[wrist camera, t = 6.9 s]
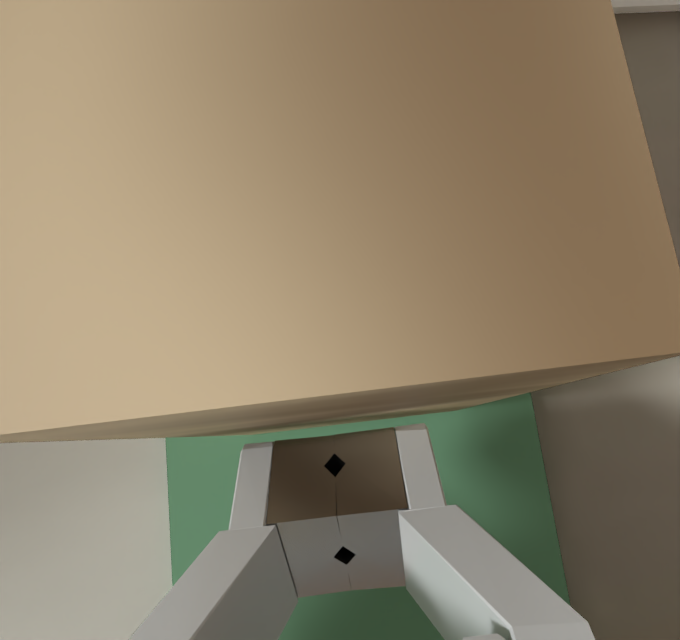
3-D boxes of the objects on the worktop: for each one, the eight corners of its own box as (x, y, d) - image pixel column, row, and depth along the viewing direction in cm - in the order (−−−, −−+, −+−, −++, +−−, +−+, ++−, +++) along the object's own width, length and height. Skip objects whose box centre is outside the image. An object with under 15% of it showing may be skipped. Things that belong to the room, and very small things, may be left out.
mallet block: (251, 434, 13) (-91, 446, 3) (223, 76, 15) (-42, -548, 6) (455, 410, 13) (700, 351, 3) (398, 52, 15) (445, -641, 5)
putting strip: (191, 874, 12) (186, 886, 11) (142, -123, 17) (138, -132, 17) (609, 836, 11) (616, 848, 11) (422, -166, 17) (423, -177, 17)
